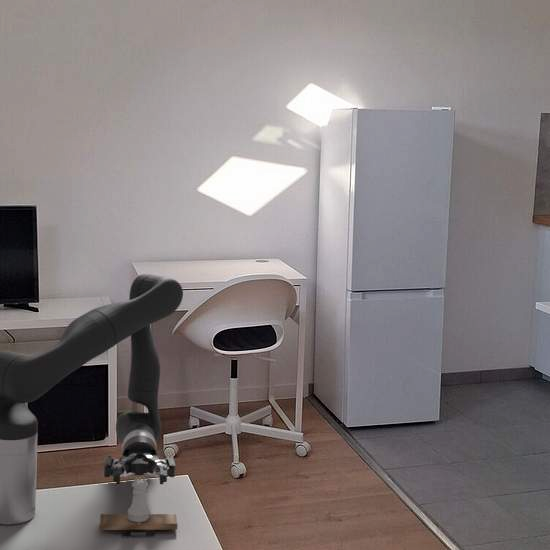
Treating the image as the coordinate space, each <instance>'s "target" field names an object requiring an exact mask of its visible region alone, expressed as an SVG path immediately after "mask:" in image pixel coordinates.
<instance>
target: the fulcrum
mask: <svg viewBox="0 0 550 550" xmlns="http://www.w3.org/2000/svg"><path fill="white" fill-rule="evenodd" d="M124 536H125V537H124ZM131 536H133V537H131ZM134 536H135V537H134ZM122 538H155V530H122Z"/></svg>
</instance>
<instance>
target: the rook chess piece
mask: <svg viewBox="0 0 550 550" xmlns="http://www.w3.org/2000/svg"><path fill="white" fill-rule="evenodd" d="M131 486H132V488H133V490H132V493H133V496H132V500H131V501H132V502H131V504H130V506H129V508H128V509H127V514H128V515H127V518H128V519H129V520H130V521H132V522H136V523H141V522H145V521H147V520H148V518H149V517H150V516H149V514H151V513H150V509H149V507H148V506H149V505H147V498H146V497H147V496H146V495H147V493H148V491H147V488H148V487H149V483H148V479H146V478H145V477H142V476H139V477H138V478H137V477H136V478H134V479H133V482H132V483H131Z"/></svg>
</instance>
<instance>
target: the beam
mask: <svg viewBox="0 0 550 550" xmlns="http://www.w3.org/2000/svg"><path fill="white" fill-rule="evenodd" d="M127 515H128V513H127V514H126V513H119V514H117V513H109V514H108V513H107V514H106V513H105V514H104V513H101V514H100V515H99V526H98V527H99V528H98V529H99V531H121V530H122V531H123V530H154V531H155V530H156V531H158V530H163V531H164V530H166V531H167V530H178V518H177V513H149V516H150V517H149V518H148V520H147V521H145V522H141V523H136V522H132V521H130V520H129V519H128V518H127Z"/></svg>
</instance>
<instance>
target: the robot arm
mask: <svg viewBox="0 0 550 550" xmlns="http://www.w3.org/2000/svg"><path fill="white" fill-rule="evenodd" d="M183 296H184V290H183V287H182V285H181V284H180V283H179V282H178V281H177V279H174V278H172V277H168V276H165V275H164V276H163V275H156V274H151V273H150V274H149V273H143V274H142V273H141V274H139V275H138V276H136V277H135V278H134V280H133V281H132V283H131V286H130V290H129V299H128V300H125V301H119V302H113V303H109V304H106V305H102V306H99V307H95V308H94V309H90V310H89V311H87V312H86V313H84V314H82V315H80V316H78V317H76V318H75V319H73V320H72V321H71V322H70V323H69V324H68V326H66V328H65V330H64V332H63V333H62V336H61V338H60V340H59V341H58V342H57V343H56V344H54V345H53V346H51V347H50V348H48V349H47V350H44V351H42V352H40V353H38V354H34V355H27V354H24V353H19V352H15V351H12V350H11V351H10V350H3V351H0V525H8V526H9V525H17V524H23V523H26V522H28V521H30V520H32V519H33V518H34V517H35V516H36V504H37V503H36V501H37V499H36V497H37V470H38V469H37V465H38V462H37V460H38V434H39V433H38V430H39V428H38V427H39V425H38V424H39V423H38V422H39V421H38V418H37V417H36V415H34V414H33V413H32V412H31V410H30V409H29V407H28V406H27V404H28V403H31V402H34V401H36V400H38V399H39V398H40V397H42V396H44V395H46V393H47V392H48V391H50V390H51V389H52V388H53V387H55V386H56V385H57V384H59V383H60V382H61V381H62V380H64V379H65V378H66V377H67V376H69V375H70V374H72V373H73V372H75V371H77V370H78V369H79V368H81V367H82V366H84V365H86V364H87V363H89V362H90V361H92V360H93V359H96V358H97V357H99V356H101V355H103V354H104V353H105V352H107V351H109V350H110V349H112V348H113V347H116V345H117V344H119V343H121V342H122V341H123V340H126V339H127V338H129V337H130V346H131V347H130V349H131V353H130V355H131V356H130V357H131V358H130V368H129V369H130V370H129V371H130V372H129V376H128V377H129V378H128V388H127V398H128V400H129V401H131V402H132V403H136V404H140V405H142V406H144V407H145V408H146V409H147V412H143V411H142V412H139V411H125V412H122V413H121V414H120V415H119V416H118V417H117V419H116V423H115V431H116V437H117V439H118V440H119V442H120V443H121V457H119V459H118V458H116V459H115V457H113V455H111V454H110V455H107V456H106V458H105V461H104V467H103V468H104V469H103V471H104V472H103V473H104V474H103V477H104V478H110V477H111V476H112V482H113V483H115V484H116V485H120V483H121V478H122V477H123V478H126V477H129V476H130V475H134V476H145V475H149V476H151V477H153V478H157V477H158V478H159V485H164V483H167V482H168V476H169V478H175V477H176V463H175V459H174V456H173V455H168V456H166V458H165V459H161V458H160V457H159V455H158V447H157V441H159V439H160V437H161V436H162V435H161V434H162V430H163V429H162V421H161V417H160V411H159V410H160V409H159V398H158V397H159V388H160V387H159V386H160V378H161V363H160V357H159V355H158V352H157V347H156V346H155V343H154V339H153V335H152V330H151V329H152V326H151V325H152V324H153V323H156V322H159V321H160V320H162V319H165V318H167V317H169V316H171V315H172V314H173V313H175V312H176V311H177V310H178V308H179V307H180V306H181V303H182V301H183ZM26 403H27V404H26Z"/></svg>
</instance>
